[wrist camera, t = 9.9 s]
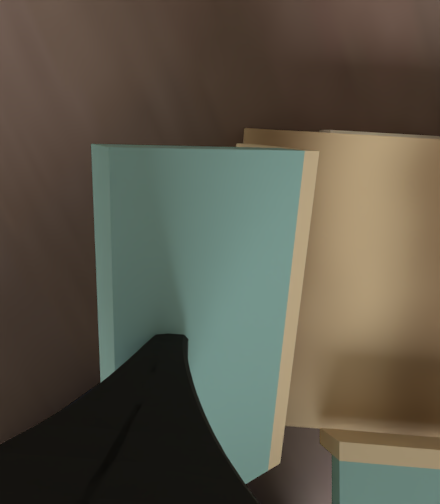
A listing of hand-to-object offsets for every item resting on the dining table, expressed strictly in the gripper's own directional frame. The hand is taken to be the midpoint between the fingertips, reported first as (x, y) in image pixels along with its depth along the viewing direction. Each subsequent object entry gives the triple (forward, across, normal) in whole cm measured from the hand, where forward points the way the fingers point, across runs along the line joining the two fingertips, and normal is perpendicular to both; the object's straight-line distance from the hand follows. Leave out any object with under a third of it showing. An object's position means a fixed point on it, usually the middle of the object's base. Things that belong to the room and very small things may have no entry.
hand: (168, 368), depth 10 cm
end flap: (+4, -3, 0) cm, 5 cm away
